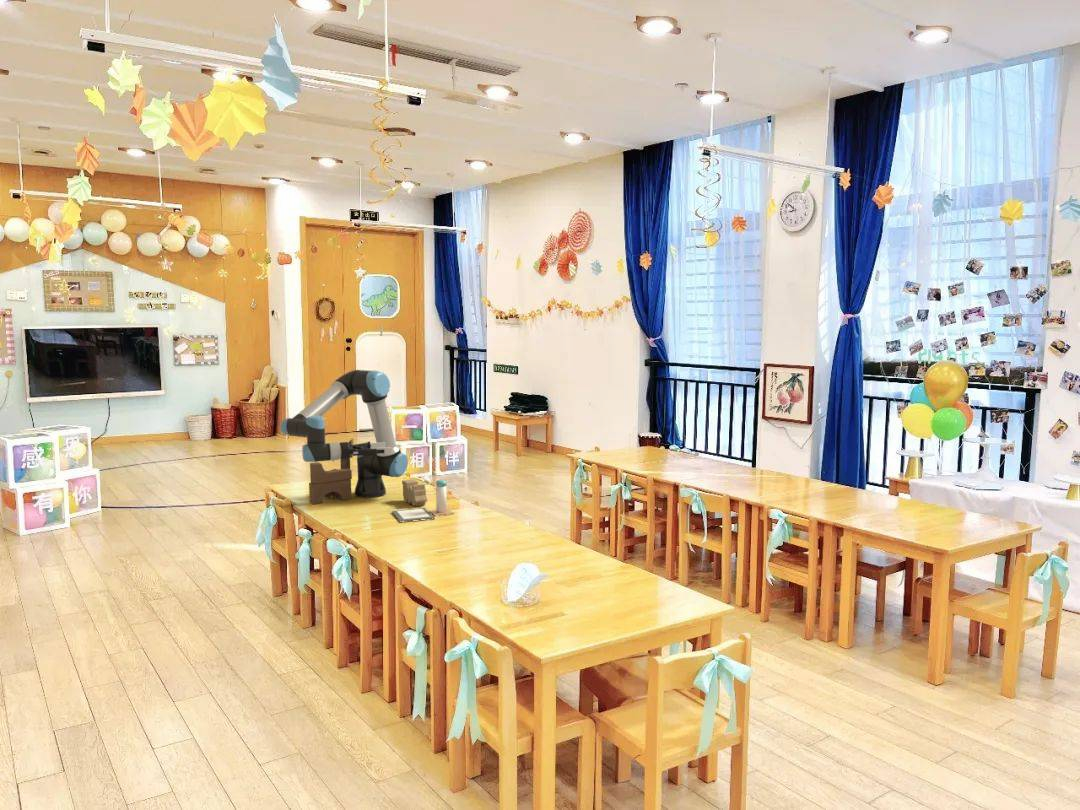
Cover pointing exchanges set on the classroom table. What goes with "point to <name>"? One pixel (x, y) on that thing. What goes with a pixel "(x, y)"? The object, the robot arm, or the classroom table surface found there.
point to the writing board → (413, 514)
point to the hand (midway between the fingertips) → (388, 447)
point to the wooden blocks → (330, 481)
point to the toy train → (414, 492)
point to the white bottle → (441, 496)
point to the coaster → (441, 513)
